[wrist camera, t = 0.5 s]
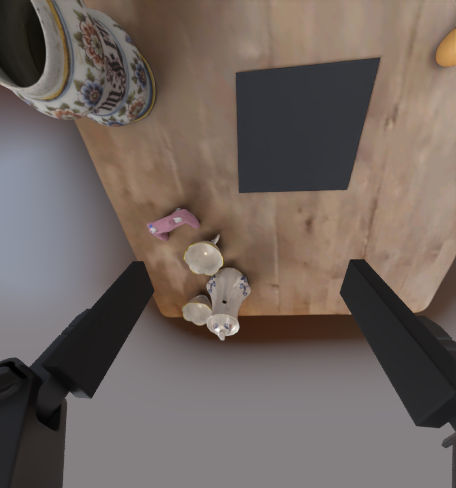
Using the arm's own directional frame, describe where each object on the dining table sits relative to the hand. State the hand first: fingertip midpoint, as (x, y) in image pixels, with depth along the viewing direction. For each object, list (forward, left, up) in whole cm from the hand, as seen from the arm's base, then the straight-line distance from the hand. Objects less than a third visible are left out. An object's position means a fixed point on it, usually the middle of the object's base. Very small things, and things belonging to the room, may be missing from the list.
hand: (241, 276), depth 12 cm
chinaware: (+23, -8, -28) cm, 37 cm away
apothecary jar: (-17, -20, -28) cm, 38 cm away
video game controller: (+7, -16, -28) cm, 33 cm away
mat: (-8, +8, -28) cm, 30 cm away
